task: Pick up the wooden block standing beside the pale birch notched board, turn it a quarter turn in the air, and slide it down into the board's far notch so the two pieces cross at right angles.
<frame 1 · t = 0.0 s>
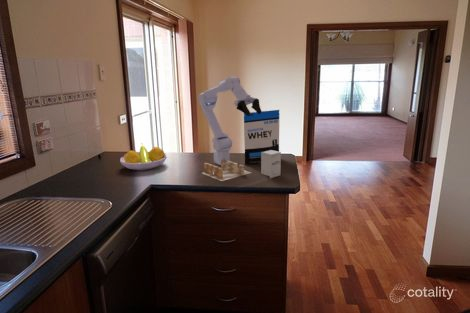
hand: (254, 113, 166), 32 cm above the worktop, tool tilted 50°, fingers open, 7 cm apart
fruit bowl: (145, 166, 197), on the worktop
wooden block: (213, 174, 174), point 1 cm above the worktop, touching halving base
supplement box: (270, 175, 174), on the worktop
protein powder: (262, 162, 200), on the worktop
halving base: (226, 174, 177), on the worktop
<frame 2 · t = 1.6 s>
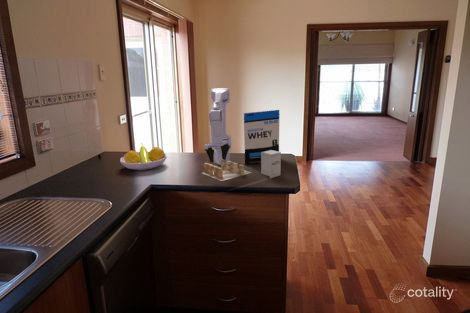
hand: (217, 160, 169), 10 cm above the worktop, tool pointing down, fingers open, 7 cm apart
nothing on the worktop moved.
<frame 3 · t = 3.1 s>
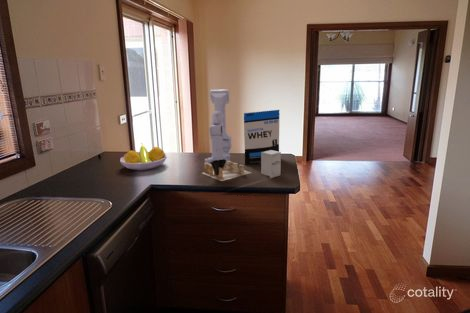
hand: (218, 174, 171), 2 cm above the worktop, tool pointing down, fingers closed on wooden block, 2 cm apart
wooden block: (213, 174, 174), point 1 cm above the worktop, touching gripper, halving base
everything else where it was.
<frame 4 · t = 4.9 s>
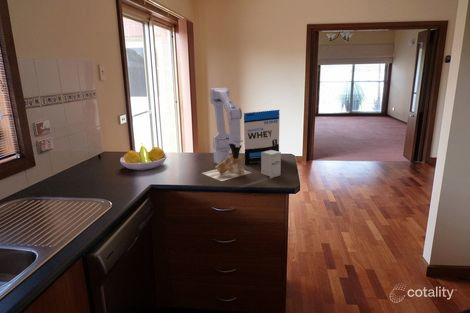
hand: (235, 157, 174), 9 cm above the worktop, tool pointing down, fingers closed on wooden block
wooden block: (231, 166, 174), point 5 cm above the worktop, tilted 34°, touching gripper
everything else where it was.
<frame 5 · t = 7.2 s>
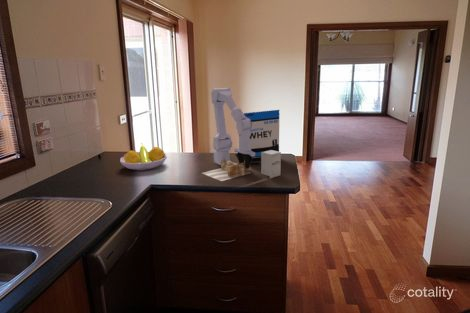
hand: (244, 167, 178), 3 cm above the worktop, tool pointing down, fingers open, 4 cm apart
wooden block: (239, 173, 176), point 1 cm above the worktop, touching halving base
everything else where it was.
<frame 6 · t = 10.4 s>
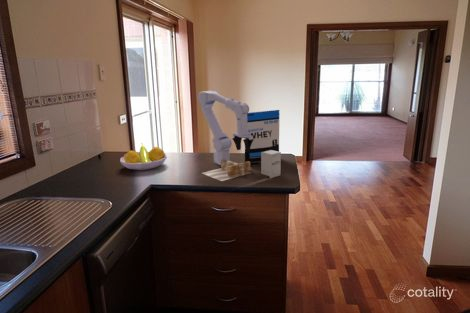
hand: (243, 150, 184), 10 cm above the worktop, tool pointing down, fingers open, 7 cm apart
nothing on the worktop moved.
at the end: wooden block 0.6 cm from the target spot on the halving base, point 1.0 cm above the halving base's base; wooden block tilted 0°; the gripper is holding nothing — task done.
